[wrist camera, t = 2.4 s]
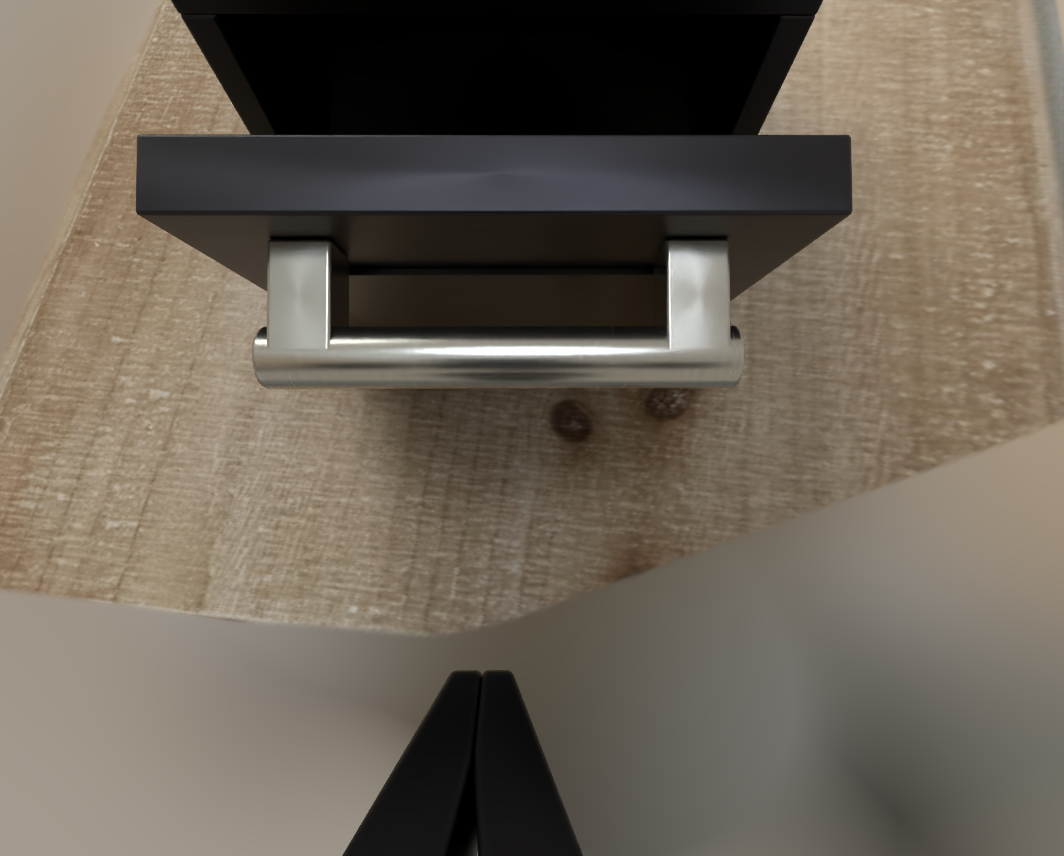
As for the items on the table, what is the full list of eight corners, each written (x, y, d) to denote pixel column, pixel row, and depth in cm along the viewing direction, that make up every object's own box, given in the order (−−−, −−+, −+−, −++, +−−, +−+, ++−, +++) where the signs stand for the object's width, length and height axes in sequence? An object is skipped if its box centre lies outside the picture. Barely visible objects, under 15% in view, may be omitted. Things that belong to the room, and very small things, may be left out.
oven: (680, 295, 25) (834, -21, 12) (344, 295, 25) (156, -22, 12) (656, 22, 29) (752, -416, 17) (371, 22, 29) (252, -419, 16)
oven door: (684, 413, 24) (857, 377, 11) (340, 414, 24) (130, 379, 11) (682, 297, 24) (853, 132, 12) (341, 297, 24) (135, 132, 11)
